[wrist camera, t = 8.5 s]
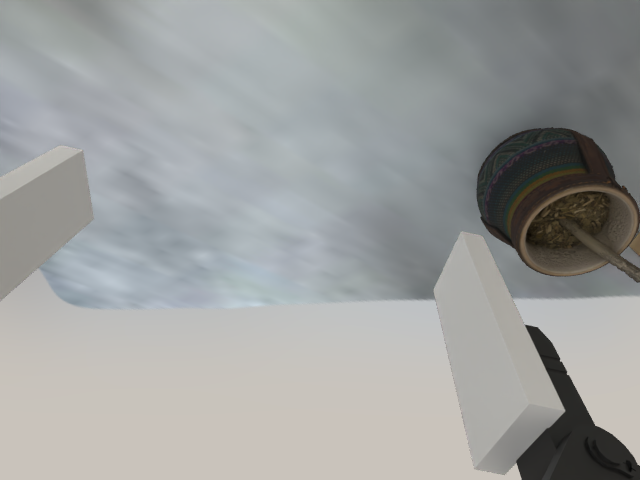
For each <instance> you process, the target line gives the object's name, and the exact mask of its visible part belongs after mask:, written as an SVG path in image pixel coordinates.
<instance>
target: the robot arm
mask: <svg viewBox="0 0 640 480" xmlns="http://www.w3.org/2000/svg"><path fill="white" fill-rule="evenodd" d="M93 219H94V216H93V210H92V203H91V197H90V191H89V185H88V178H87V172H86V166H85V160H84V153H83V150H81V149H76V148H71V147H67V146H62V145H60V146H58V147H56V148H54V149H52V150H50V151H48V152H46V153H45V154H43V155H41V156H39V157H37V158H35V159H33V160H32V161H30V162H28V163H26V164H24V165H22V166H20V167H18V168H17V169H15V170H13V171H11V172H9V173H7V174H5V175H4V176H2V177H0V301H1V300H2V299H3V298H5V297H6V296H7V295H8V294H9V293H10V292H11V291H12V290H14V289H15V288H16V287H17V286H18V285H19V284H21V283H22V282H23V281H24V280H25V279H26V278H27V277H29V275H31V274H32V273H33V272H34V271H35V270H36V269H38V268H39V267H40V266H41V265H42V264H43V263H44V262H46V261H47V260H48V259H49V258H50V257H51V256H52V255H54V254H55V253H56V252H57V251H58V250H59V249H60V248H62V247H63V246H64V245H65V244H66V243H67V242H68V241H70V240H71V239H72V238H73V237H74V236H75V235H76V234H77V233H79V232H80V231H81V230H82V229H83V228H84V227H85V226H87V225H88V224H89V223H90V222H91V221H92V220H93ZM433 291H434V296H435V300H436V304H437V309H438V313H439V317H440V322H441V326H442V330H443V334H444V339H445V344H446V348H447V352H448V357H449V361H450V365H451V370H452V374H453V379H454V383H455V387H456V392H457V396H458V400H459V405H460V409H461V414H462V418H463V422H464V427H465V431H466V435H467V440H468V444H469V448H470V453H471V457H472V461H473V466H474V469H476V470H482V471H487V472H492V473H497V474H502V475H505V474H506V473H507V472H508V471H509V470H510V469H511V468H512V467H513V466H514V464H515V463H516V462H517V465H518V469H519V472H520V475H521V478H522V480H640V466H639V465H637V463H636V460H635V458H634V457H633V455H632V454H631V453H630V452H629V450H628V449H627V448H626V447H625V446H624V445H623V444H622V443H621V442H620V441H619V440H618V439H617V438H616V437H614V436H613V435H612V434H610V433H609V432H607V431H605V430H604V429H602V428H600V427H597V426H595V424H594V422H593V420H592V418H591V416H590V415H589V413H588V411H587V409H586V407H585V405H584V403H583V401H582V399H581V397H580V395H579V394H578V392H577V390H576V388H575V386H574V384H573V382H572V380H571V378H570V377H569V375H567V371H566V369H565V367H564V365H563V363H562V362H560V357H559V355H558V354H557V352H556V350H555V348H554V346H553V344H552V343H551V341H550V340H549V339H548V338H547V337H546V336H545V335H544V334H543V333H542V332H541V331H540V329H538V327H533V326H528V325H525V324H524V322H523V320H522V318H521V316H520V314H519V312H518V310H517V308H516V305H515V303H514V301H513V299H512V297H511V295H510V293H509V291H508V289H507V286H506V284H505V282H504V280H503V278H502V276H501V274H500V272H499V269H498V267H497V265H496V263H495V261H494V259H493V257H492V255H491V253H490V250H489V248H488V246H487V244H486V242H485V240H484V238H483V236H481V235H477V234H472V233H467V232H463V231H461V233H460V235H459V237H458V239H457V241H456V243H455V245H454V247H453V249H452V252H451V254H450V256H449V258H448V260H447V262H446V264H445V266H444V268H443V271H442V273H441V275H440V277H439V279H438V281H437V283H436V285H435V287H434V290H433Z"/></svg>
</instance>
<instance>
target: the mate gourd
mask: <svg viewBox="0 0 640 480" xmlns="http://www.w3.org/2000/svg"><path fill="white" fill-rule="evenodd" d="M612 168H613V167H612V166H611V164H610V162H609V160H608V158H607V156H606V155H605V153H604V152H603V151H602V150H601V149H600V148H599V146H598V145H596V144H595V142H594V141H593V139H591V138H589V137H587V136H585V135H582V134H580V133H578V132H576V131H573V130H570V129H565V128H564V129H563V128H555V129H554V128H553V127H552V128H545V129H541V128H539V129H531V130H526V131H522V132H519V133H516V134H514V135H512V136H510V137H509V138H507V139H506V140H504V141H503V142H502V143H500V144H499V145H498V146H497V147H496V148H495V149H494V150H493V151H492V152H491V153H490V154H489V156H488V157H487V158H486V160H485V162H484V163H483V164H482V166H481V169H480V171H479V174H478V181H477V189H476V190H477V201H478V207H479V210H480V213H481V215H482V217H480V218H481V220H482V221H483V223H484V225H485V227H486V229H487V230H488V231H489V232H490V233H491V234H492V235H493V236H495V237H496V238H498V239H499V240H501V241H503V242H505V243H506V244H508V245H510V246H512V248H515V249H516V251H517V253H518V255H519V256H520V258H521V259H522V261H523V262H524V263H525V264H526V265H527V266H528V267H530V268H531V269H533V270H535V271H537V272H539V273H542V274H545V275H550V276H574V275H580V274H584V273H588V272H591V271H593V270H596V269H598V268H601V267H602V266H604V265H606V264H608V263H611V264H612V265H614V266H617V268H618V269H620V270H621V271H624V272H625V273H626V274H627V275H628V276H629V277H630V278H633V280H635V281H636V282H637V283H638V282H640V268H638V267H636V266H635V265H633V264H631V263H630V262H628V261H627V260H626V259H624V258H623V257H621V256H620V254H621V253H622V252H623V251H624V250H625V249H626V248H627V247H628V246H629V244H630V243H631V242H632V240H633V239H634V237H635V235H636V233H637V231H638V228H639V224H640V212H639V208H638V206H637V203H636V201H635V200H634V198H633V197H632V196H631V195H630V193H628V192H627V191H628V190H627V188H625V187H624V186H622V188H621V186H620V185H619V184H618V183H617V182H616V181H615V175H614V171H613V169H612Z"/></svg>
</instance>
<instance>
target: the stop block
mask: <svg viewBox="0 0 640 480" xmlns="http://www.w3.org/2000/svg"><path fill="white" fill-rule="evenodd" d="M629 246H630V247H631V248H632V249H633V250H634V251H635V252H636V253H637V254H638V255H639V256H640V232H639V233H638V235H637V236H636V237H635V239H634V240H633V241H632V242H631V244H630V245H629Z"/></svg>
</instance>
